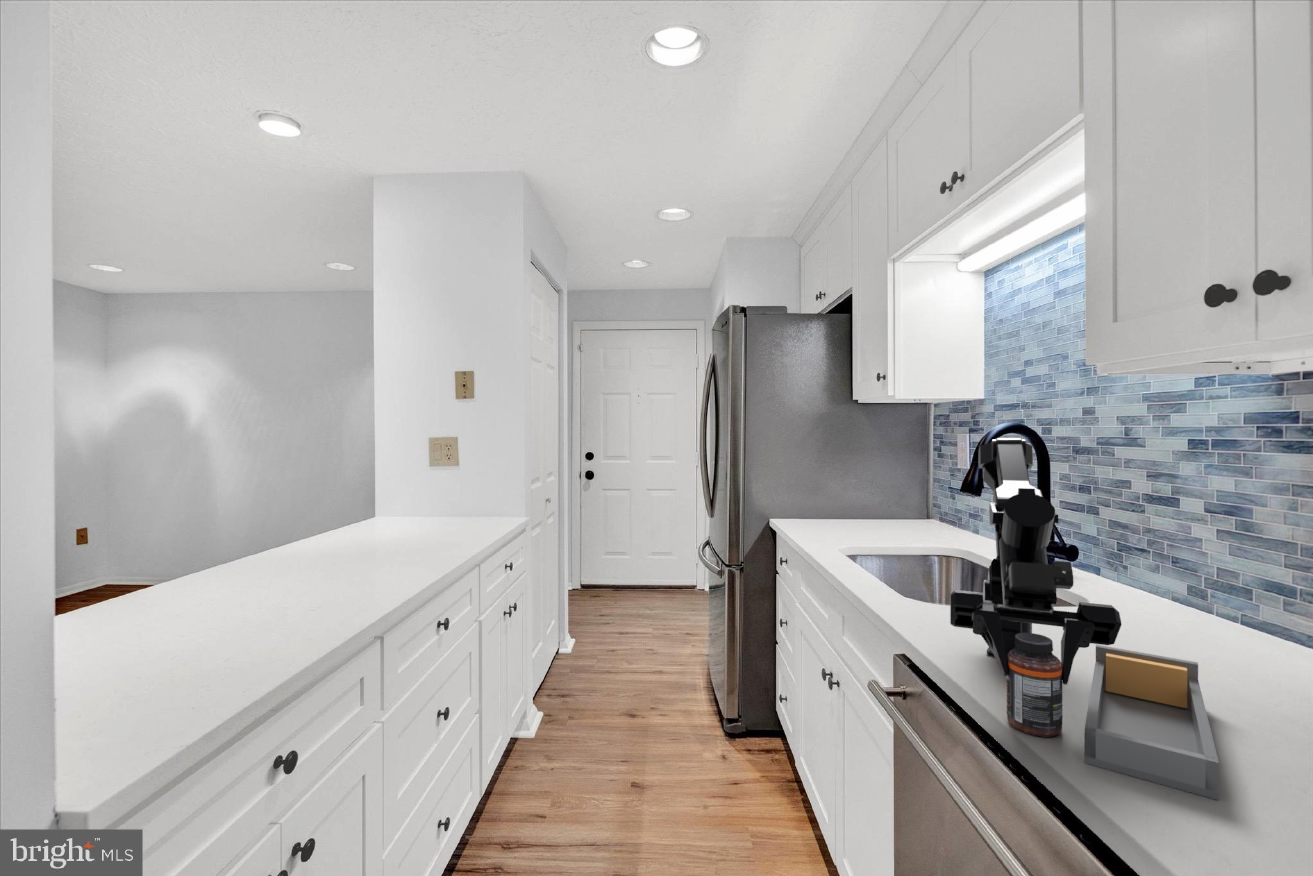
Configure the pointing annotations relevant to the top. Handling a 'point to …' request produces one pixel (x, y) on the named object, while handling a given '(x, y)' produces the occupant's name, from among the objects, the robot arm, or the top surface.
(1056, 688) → the supplement bottle
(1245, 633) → the top surface
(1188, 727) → the tray
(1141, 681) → the pusher
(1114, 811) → the top surface
